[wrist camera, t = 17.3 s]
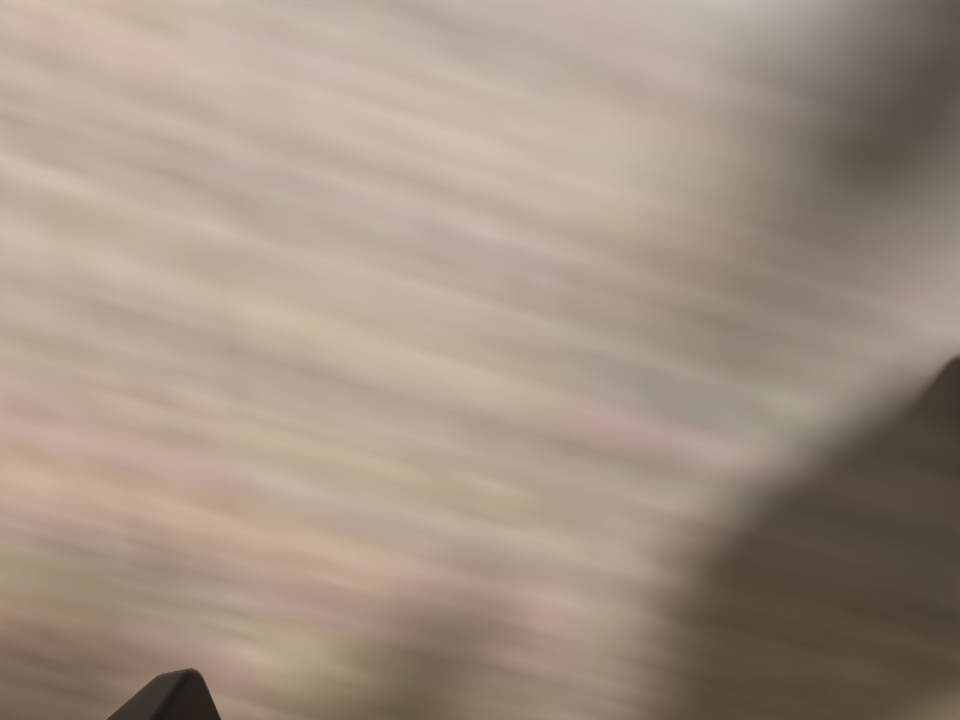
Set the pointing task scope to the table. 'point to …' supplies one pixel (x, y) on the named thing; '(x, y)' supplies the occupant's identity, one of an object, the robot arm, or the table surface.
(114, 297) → the table surface
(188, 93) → the table surface
